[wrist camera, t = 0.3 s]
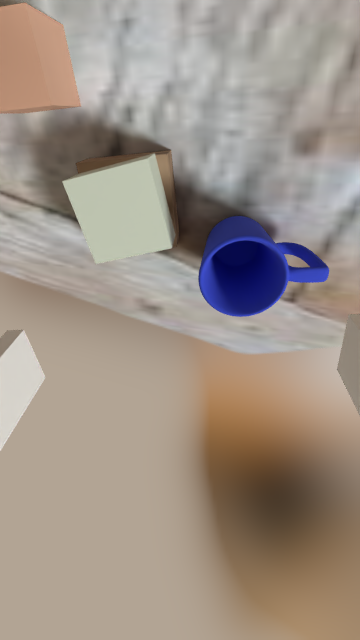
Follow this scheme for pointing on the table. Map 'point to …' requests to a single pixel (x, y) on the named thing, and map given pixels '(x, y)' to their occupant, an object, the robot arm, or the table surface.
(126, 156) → the riser lower
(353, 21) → the table surface
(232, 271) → the mug
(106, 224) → the block
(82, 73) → the table surface
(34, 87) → the clay block
